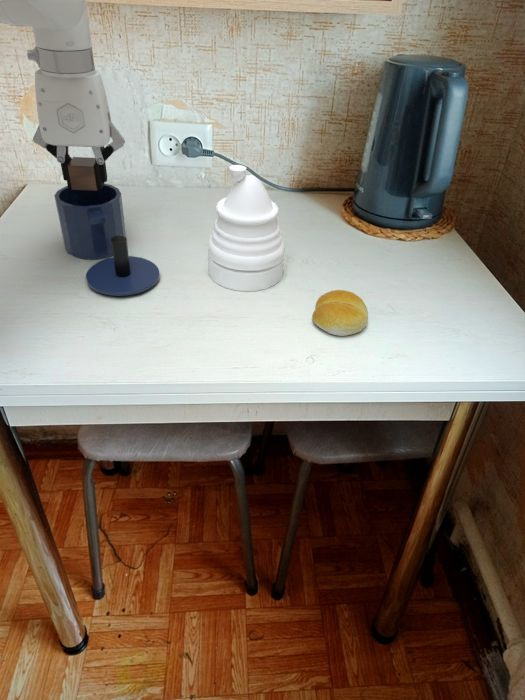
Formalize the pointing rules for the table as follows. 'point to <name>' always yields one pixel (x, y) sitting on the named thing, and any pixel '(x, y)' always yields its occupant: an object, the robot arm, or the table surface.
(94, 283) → the lid
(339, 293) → the bread roll
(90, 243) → the pot
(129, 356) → the table surface
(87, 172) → the block
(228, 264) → the honey pot
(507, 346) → the table surface
